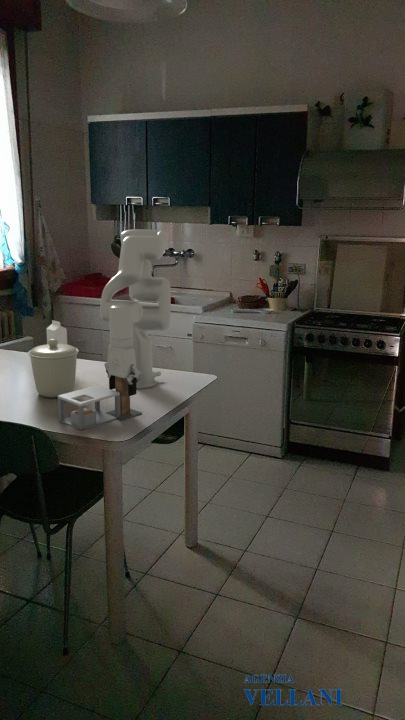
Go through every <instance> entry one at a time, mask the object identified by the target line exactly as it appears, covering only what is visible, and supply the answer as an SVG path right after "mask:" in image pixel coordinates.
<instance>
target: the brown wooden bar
mask: <svg viewBox="0 0 405 720" xmlns="http://www.w3.org/2000/svg"><path fill="white" fill-rule="evenodd" d="M128 384H129V382H128V380H127V378H120V377H117V376H115V389H114V391H117V392H120V415H125V414H128V413H130V409H131V396H129V395H128Z"/></svg>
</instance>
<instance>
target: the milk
mask: <svg viewBox="0 0 405 720" xmlns="http://www.w3.org/2000/svg"><path fill="white" fill-rule="evenodd" d="M67 331H68V329H67V328H66V327H64V326H62V325H61V321H57V320H52V319H51V324H50V325H48V326H47V327H46V344H48V341H49V340H50V339H56V340H57V341H58V344H67V345H68V332H67Z"/></svg>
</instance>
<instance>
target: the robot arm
mask: <svg viewBox="0 0 405 720" xmlns="http://www.w3.org/2000/svg"><path fill="white" fill-rule="evenodd" d="M120 243H121V244H120V245H121V246H120V253H119V254H120V255H119V262H118V263H119V264H118V270H117V273H116V275H114V276H112V277H111V279H110V280H109V281H108V282H107V283H106V284H105V286H104V288H103V290H102V293H101V299H100V304H99V305H100V307H99V316H100V318H101V320H102V321H103V322H104V323H109V345H108V350H107V358H106V360H107V362H105V363H104V367H105V368H104V369H105V372H106V374H107V378H108V385H109V387H108V389H110V390H115V376H117V377H120V378H127V380H128V382H129V384H128V395H129V396H130V397H132V396H134V395H137V394H138V393H137V389H138V390H139V389H143V390H145V389H151V388H154V387H155V386H156V385H157V379H155V378H156V377H160V376H162V372H161V371H160V370H158V371H155V372H154V370H153V342H152V341H153V339H152V338H151V336H150V334H148V332H147V331H159V332H161V331H167V330H168V329H169V328H170V324H171V305H172V304H171V301H172V300H171V297H172V292H171V291H172V290H171V289H172V287H171V284H170V280H168V279H167V278H165V277H161V276H159V277H157V276H152V269H153V268H152V267H153V265H152V262H151V261H158V260H161V258H162V257H163V255H164V253H165V252H166V249H167V246H168V237H167V234H166V231H164V230H162V229H140V228H139V229H137V228H136V229H135V228H134V229H126V230H124V231H122V232H121V234H120ZM126 288H128V295H129V297H130V300H114V299H113V300H112V298H113V297H114V295H115V294H117V292H119V291H121V290H124V289H126ZM140 302H141V303H145V302H146V303H157V304H158V305H147V304H146V305H144V304H143V305H142V304H141V303H140Z"/></svg>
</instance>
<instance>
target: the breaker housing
mask: <svg viewBox="0 0 405 720" xmlns="http://www.w3.org/2000/svg"><path fill="white" fill-rule="evenodd" d="M81 398H87V399H88V400H84V401H79V400H78V399H81ZM111 398H114V410H115V414H114V415H115V416H111V414H112V413H110V415H109V414H108V413H109V411H107V410H104V409H102V408H101V401H103V400H108V399H111ZM64 401H65V402H68V403H70V404H73V405H76V406H77V409H78V414H77V413H76V410H74V411H71V412H70V416H67V417H65V410H64ZM93 403H94V409H90V412H91V413H89V414H85V415H84V406H87V405H89V404H93ZM57 407H58V408H57V409H58V422H60V423H62V424H65V425H68V426H70V427H72V428H74V429H77V430H79V431H84V430H87V429H89V428H90V429H91V428H94V427H96V426H99V425H102V424H105V423H108V422H111V421H115V420H118V419H117V417H120V392H117V391H115V389H112V390H110V389H109V388H107V387H104V386H101V385H98V384H96V385H92V386H89V387H85V388H82V389H81V388H80V389H78V390H73V391H72V392H69V393H65V394H62V395H58V397H57ZM107 412H108V413H107Z"/></svg>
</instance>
